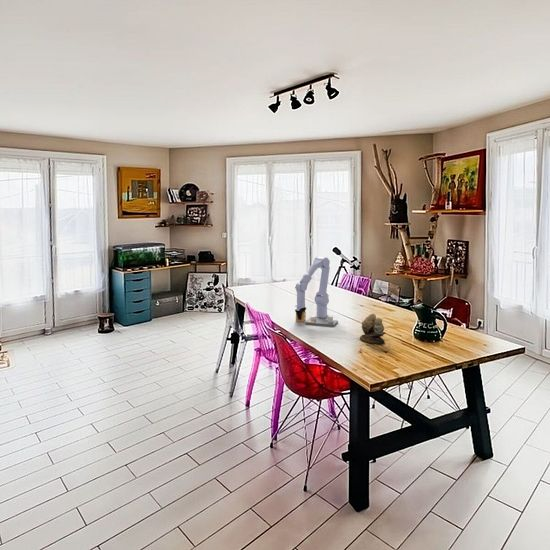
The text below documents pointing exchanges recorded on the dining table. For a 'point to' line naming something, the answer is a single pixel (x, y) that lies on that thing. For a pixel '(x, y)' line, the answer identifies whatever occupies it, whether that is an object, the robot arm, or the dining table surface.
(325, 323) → the panel
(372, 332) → the stacked stone sculpture
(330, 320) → the untagged breaker
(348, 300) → the dining table surface
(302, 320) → the orange cube
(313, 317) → the white rectangular block
